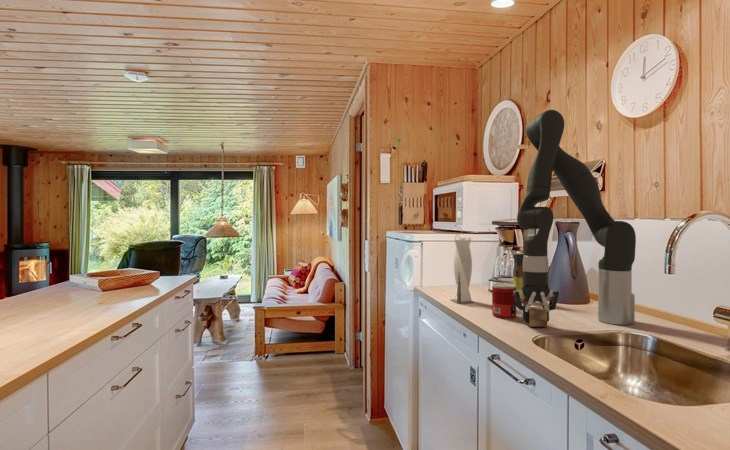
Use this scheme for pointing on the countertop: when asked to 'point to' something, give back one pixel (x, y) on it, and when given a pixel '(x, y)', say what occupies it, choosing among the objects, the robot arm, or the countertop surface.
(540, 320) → the walnut cube
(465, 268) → the skyscraper
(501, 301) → the canned food
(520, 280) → the sauce bottle
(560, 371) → the countertop surface
